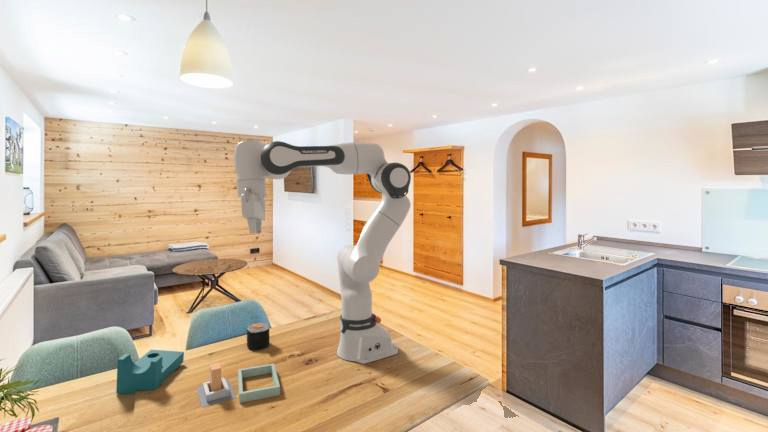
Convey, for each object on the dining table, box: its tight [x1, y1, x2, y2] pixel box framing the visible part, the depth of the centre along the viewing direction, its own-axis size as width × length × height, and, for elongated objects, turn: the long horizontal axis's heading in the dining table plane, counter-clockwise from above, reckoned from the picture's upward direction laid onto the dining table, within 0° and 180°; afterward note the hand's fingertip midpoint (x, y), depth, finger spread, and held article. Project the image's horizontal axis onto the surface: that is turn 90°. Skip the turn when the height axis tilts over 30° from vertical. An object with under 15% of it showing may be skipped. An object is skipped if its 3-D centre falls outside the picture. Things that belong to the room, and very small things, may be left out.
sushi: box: [246, 322, 270, 351], centre depth 144 cm, size 8×8×8 cm
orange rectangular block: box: [209, 362, 222, 392], centre depth 111 cm, size 2×4×8 cm, turn 32°
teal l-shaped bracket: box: [115, 349, 185, 395], centre depth 120 cm, size 18×11×10 cm, turn 3°
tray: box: [237, 363, 281, 404], centre depth 115 cm, size 11×15×4 cm
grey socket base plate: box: [196, 377, 237, 409], centre depth 111 cm, size 9×12×3 cm
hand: (256, 233), depth 122 cm, fingers open, 8 cm apart
